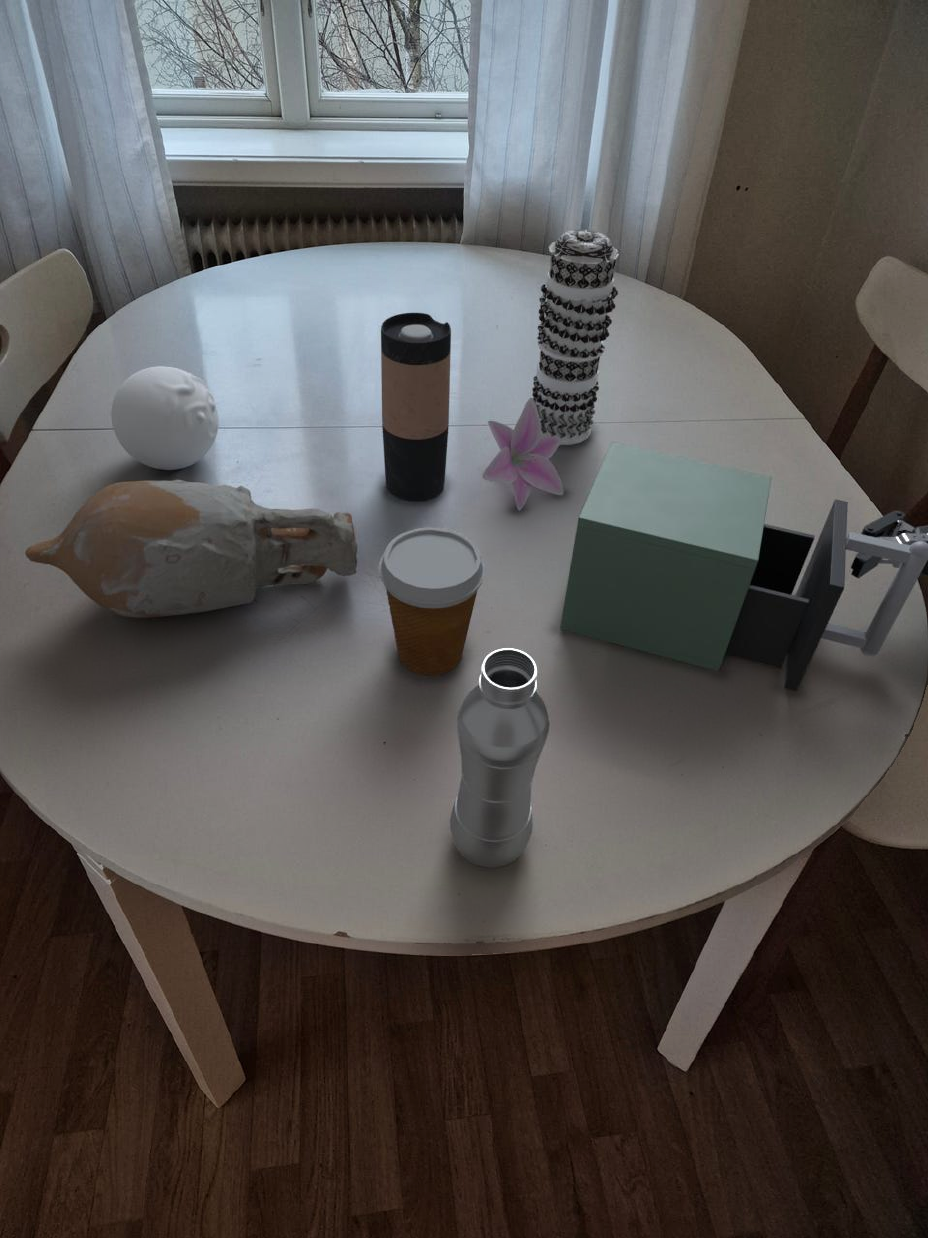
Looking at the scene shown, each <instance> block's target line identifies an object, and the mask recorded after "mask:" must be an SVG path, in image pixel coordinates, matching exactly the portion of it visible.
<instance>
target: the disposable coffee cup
mask: <svg viewBox="0 0 928 1238" xmlns="http://www.w3.org/2000/svg"><path fill="white" fill-rule="evenodd" d="M486 571H487V569H486V563H485V561H484V560H483V557H482V556H481V552H480V550H479V547H478V546H477V545H476V544H475V542H474V541H472V540H471V539H470V538H469V537H467V536H466V535H464V534H463V533H460V532H458V531H456V530H452V529H449V528H443V527H435V526H434V527H432V526H430V527H419V528H415V529H412V530H408V531H405V532H403V533H401V534H398V535H397V536H396V537H394V538H393V539H392V540H391V541H389V543H388V544H387V545H386V548H385V550H384V553H383V554H382V556H381V557H380V560H379V562H378V574H379V579H380V580H381V582H382V584H383V585H384V588H385V590H386V596H387V601H388V606H389V611H390V612H389V613H390V616H391V617H390V619H391V624H392V629H393V634H394V639H395V645H396V648H397V655H398V659H399V661H400V663H401V664H402V665H403V666H404V667H405V668H406V669H408V670H409V671H411V672H413V673H415V674H419V675H422V676H423V675H424V676H438V675H443V674H445V673H449V672H450V671H452V670H453V669H454V668H456V667H457V666H458V665H459V664H460V663H461V660H462V658H463V653H464V648H465V644H466V641H467V637H468V633H469V632H468V631H469V629H470V624H471V619H472V615H473V611H474V606H475V603H476V598H477V595H478V594H477V593H478V590H479V589H480V587H481V586H482V584H483V582H484V580H485V577H486Z"/></svg>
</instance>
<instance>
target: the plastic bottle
mask: <svg viewBox="0 0 928 1238" xmlns="http://www.w3.org/2000/svg"><path fill="white" fill-rule="evenodd" d="M480 671H481V673H480V675H479V678H478V685H476V686H475V687H474V688H473V689H472V690H470V691H469V692H468V694H467V695H466V696H465V698H464V700H463V702H462V704H461V705H460V708H459V710H458V713H457V736H458V742H459V743H458V744H459V750H460V756H461V759H460V760H461V763H460V765H461V779H460V784H459V788H458V792H457V796H456V798H455V801H454V803H453V805H452V809H451V813H450V818H449V827H450V832H451V837H452V841H453V845H454V846H455V848H456V850H457V851H458V853H459V854H460V855H461V856H462V857H463V858H464V859H465V860H467V861H468V862H469V863H471V864H473V865H476V866H478V867H483V868H490V869H491V868H492V869H493V868H500V867H504V866H507V865H509V864H512V863H513V862H515V861H516V860H517V859H518V858H519V857H520V856H521V855H522V854H523V853H524V851H525V849H526V847H528V846H527V845H528V843H529V841H530V839H531V837H532V833H533V825H534V823H533V809H532V808H533V807H532V784H533V780H534V775H535V772H536V768H537V765H538V762H539V759H540V757H541V755H542V754H541V753H542V751H543V749H544V747H545V744H546V742H547V739H548V735H549V731H550V717H549V713H548V709H547V706H546V703H545V702H544V700H543V698H542V697H541V695H540V694H539V693H538V692H537V685H538V683H537V676H538V669H537V664H536V662H535V660H534V659H533V658H532V657H531V656H530V654H528V653H526V652H525V651H523V650H520V649H516V648H512V647H511V648H510V647H508V648H507V647H506V648H505V647H504V648H500V649H496V650H494V651H491V652H490V653H489V654H488V655H487V656H485V658H484V660H483V662H482V664H481V670H480Z"/></svg>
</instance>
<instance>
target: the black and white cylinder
mask: <svg viewBox="0 0 928 1238" xmlns="http://www.w3.org/2000/svg"><path fill="white" fill-rule="evenodd" d="M548 249H549V253H550V254H551V257H550V261H549V262H550V265H549V271H548V272H547V275H546V284H542V285H541V286H540V291H541V292H542V295H541V296H540V297H539V299H538V300H539V303H540V305H539V306H540V308H539V309H538V314H539V315H538V320H539V321H540V324H539V325H538V326H537V330H538V333H537V334H538V336H537V337H536V339H537V346H538V349H539V350H540V352H539V361H538V363H537V364H536V365H537V366H536V374H535V375H534V376H533V383H532V384H533V387H532V397H531V398H532V399H533V400H534V402H535V404H536V407H537V410H538V414H539V418H540V423H541V436H554V437H558V438H560V439H561V443H560V445H559V446H573V445H576V444H581V443H582V442H584V441H586V440H587V439H589V437H590V435H591V433H592V427H591V426H592V425H594V420H593V419H594V416H593V415H595V413H596V410H595V403H596V402H597V401H598V397H597V392H598V391H599V390H600V386H599V381H598V380H599V374H600V371H599V365H600V359H601V357H602V356H603V354H604V353H605V351H606V346H605V342H604V341H606V340H607V338H608V337H610V332H609V329H608V328H609V327H610V325H612V322H613V320H612V319H611V317H610V315H609V313H612V312H613V310H615V308H616V303H615V301H614V299H616V297H617V296H618V294H619V291H618V289H617V287H616V286H614V283H615V279H614V274H615V267H616V261H617V258H618V257H619V255H620V254H619V251H618V249H617V248H616V247H614V246H613V245H612V242H611V239H610V238H609V237H608V236H607V235H606V234H603V233H601V232H598V231H595V230H590V229H571V230H568V231H565V232H563V233H562V234H561V235H560V237H559V238H557V240H555V241H553V242H551V244H550V245H549V246H548Z"/></svg>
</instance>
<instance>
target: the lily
mask: <svg viewBox="0 0 928 1238" xmlns="http://www.w3.org/2000/svg"><path fill="white" fill-rule="evenodd" d="M532 398H533V397H530V398H529V399H528V400H527V401H526V403H525V405H524V408H523V409H522V411H521V414H520V416H519V418H518V420H517V422H516V424H515V426H514V428H511V427H509V426H508V425H506V424H503V423H501V422H498V421H494V420H487V425H488V428H489V430H490V432H491V434H492V436H493V438H494V440H495V442H496V444H497V446H498V448H499V452H498V453H497V454H496V456H494V458H493V459H492V461H491V462H490V463H489V464H488V466H487V467H486V469H485V470H484V471H483V473H482V477H481V478H482V479H483V480H485V481H488V482H492V483H493V482H494V483H511V487H512V492H513V496H514V501H515V505H516V508H517V510H518V511H521V510H522V509H523V507H524V506H525V504H526V502H527V501H528V498H529V496H530V494H531V491H532V486H533V487H535V488H537V489H539V490H542V491H545V492H547V493H550V494H553V495H557V496H563V495H564V491H565V490H564V487H563V486H564V485H563V483H562V480H561V477H560V475H559V474H558V471H557V469H556V467H555V465H554V464H553V462H552V461H551V460H550V458H552V456H553V455H554V454H555V453H556V451H557V449H558V448H559V446H561V445H560V443H561V439H560V438H558V437H554V436H541V423H540V418H539V414H538V410H537V407H536V404H535V402H534V400H533V399H532Z"/></svg>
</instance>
